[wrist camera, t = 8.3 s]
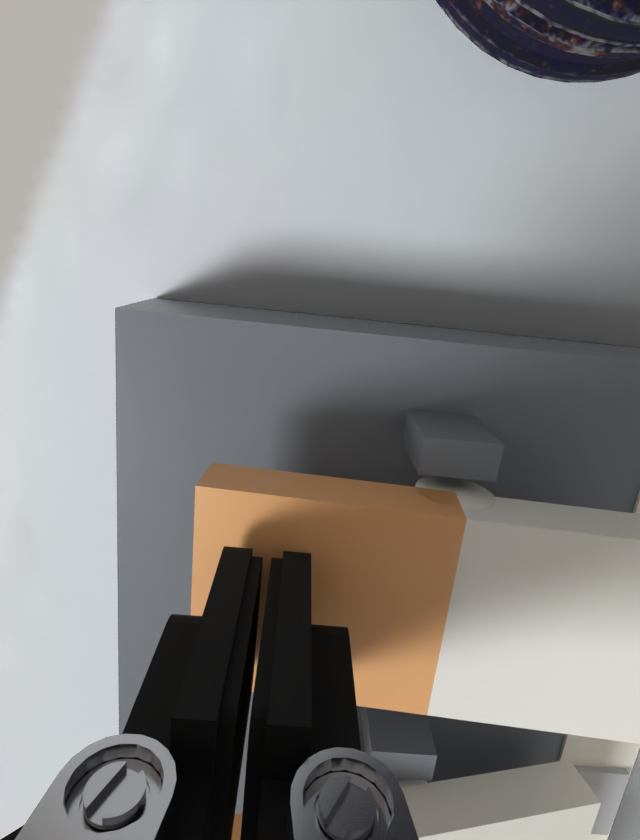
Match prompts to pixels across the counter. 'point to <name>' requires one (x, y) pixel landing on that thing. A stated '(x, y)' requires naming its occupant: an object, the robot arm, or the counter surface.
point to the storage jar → (554, 35)
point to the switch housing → (363, 469)
